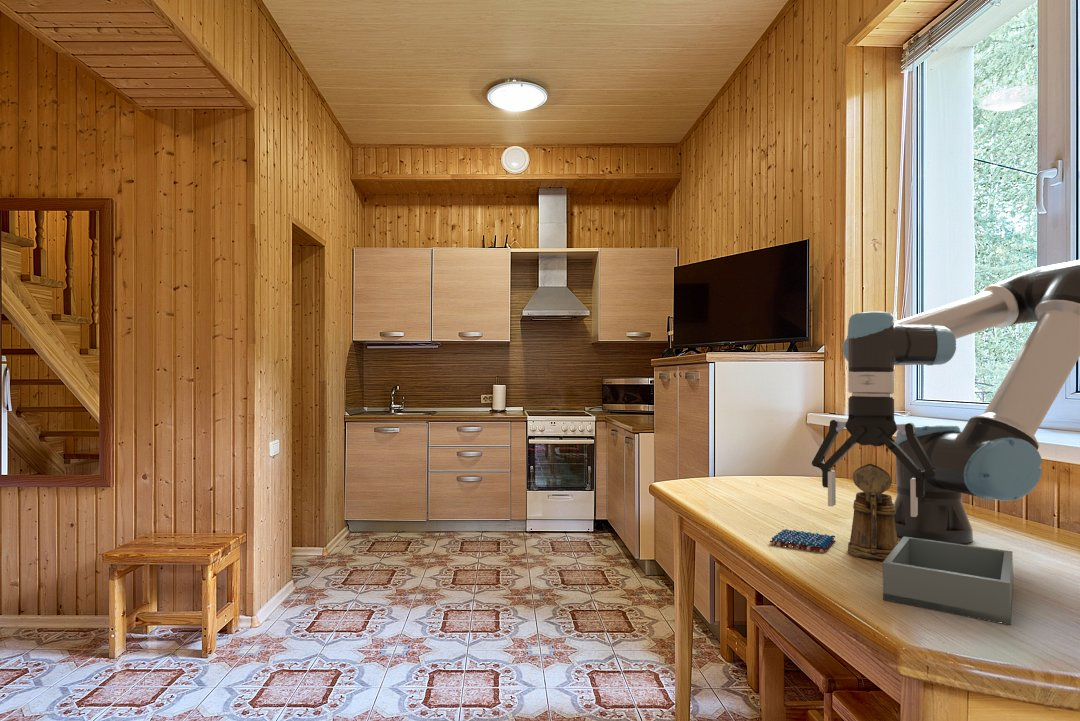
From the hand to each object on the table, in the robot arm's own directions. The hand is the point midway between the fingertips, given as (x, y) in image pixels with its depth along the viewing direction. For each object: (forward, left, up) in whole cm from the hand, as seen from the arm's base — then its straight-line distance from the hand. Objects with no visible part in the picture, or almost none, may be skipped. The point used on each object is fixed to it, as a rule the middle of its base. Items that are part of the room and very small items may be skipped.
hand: (871, 510), depth 113 cm
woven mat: (-2, -13, -9) cm, 16 cm away
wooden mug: (0, 0, -9) cm, 9 cm away
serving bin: (+14, +13, -9) cm, 21 cm away
